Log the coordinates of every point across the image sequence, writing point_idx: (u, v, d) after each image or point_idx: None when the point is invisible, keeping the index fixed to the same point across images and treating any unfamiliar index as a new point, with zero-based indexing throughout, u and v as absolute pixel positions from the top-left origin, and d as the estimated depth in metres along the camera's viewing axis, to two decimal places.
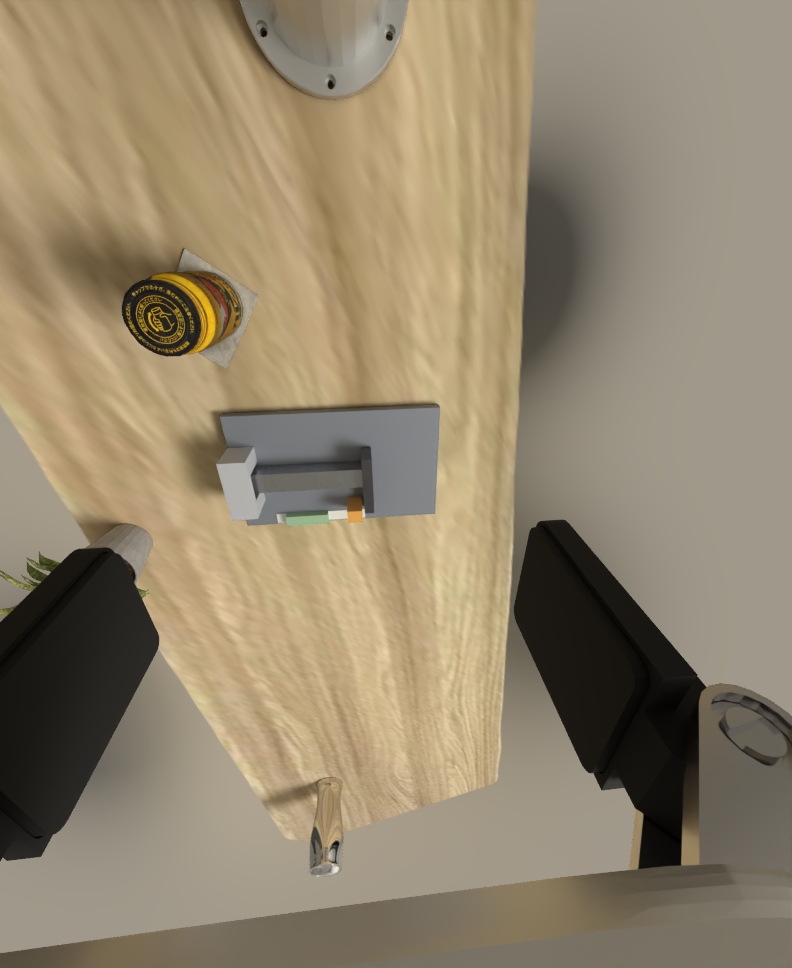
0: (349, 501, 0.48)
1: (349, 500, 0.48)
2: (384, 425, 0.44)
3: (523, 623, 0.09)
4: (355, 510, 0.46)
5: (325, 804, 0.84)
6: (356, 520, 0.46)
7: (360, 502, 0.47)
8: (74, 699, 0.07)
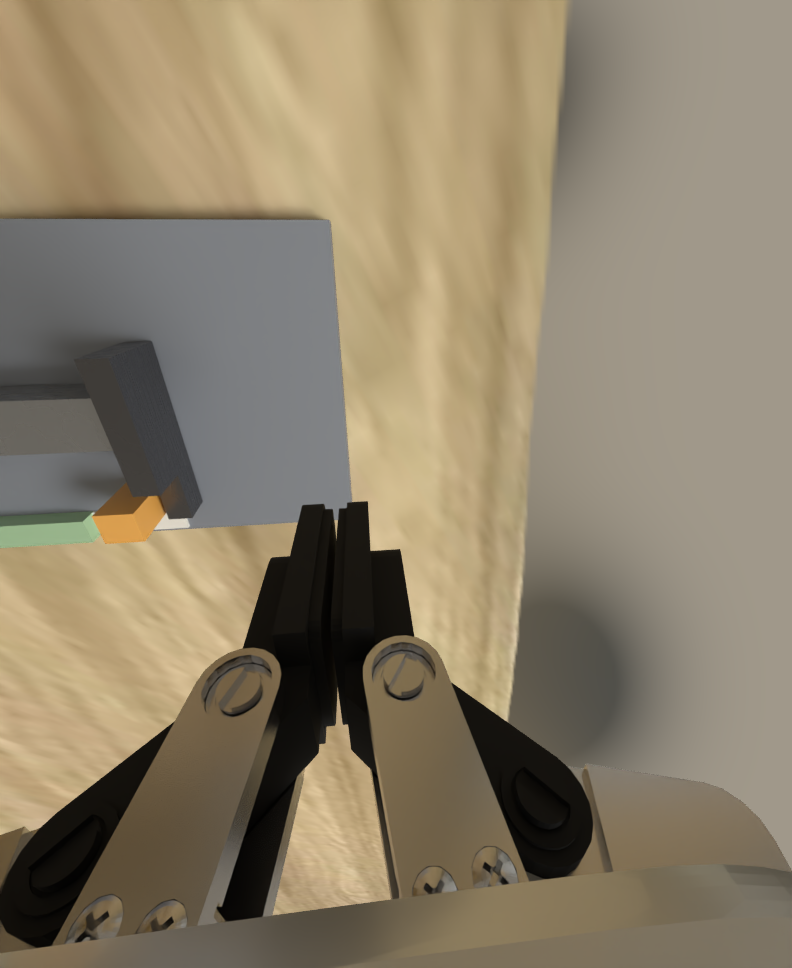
0: (124, 489, 0.19)
1: (124, 488, 0.19)
2: (176, 274, 0.16)
3: None
4: (117, 512, 0.17)
5: None
6: (127, 539, 0.18)
7: None
8: None
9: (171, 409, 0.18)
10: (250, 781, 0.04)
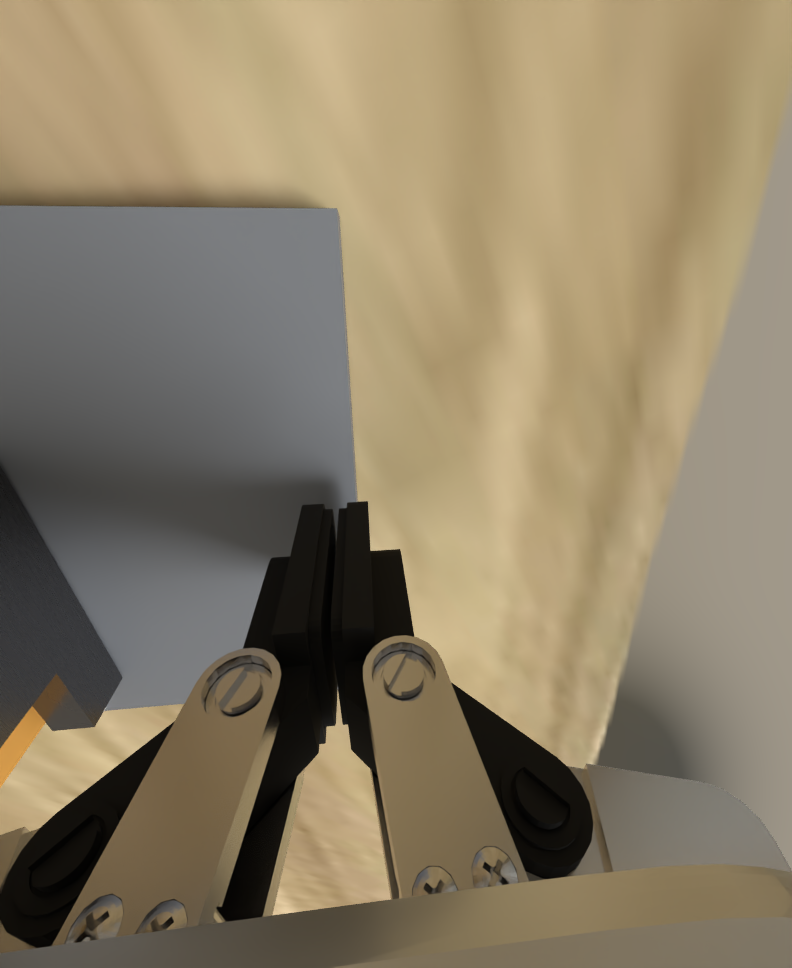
0: None
1: None
2: (18, 321, 0.08)
3: None
4: None
5: None
6: None
7: None
8: None
9: (44, 556, 0.10)
10: (250, 781, 0.04)
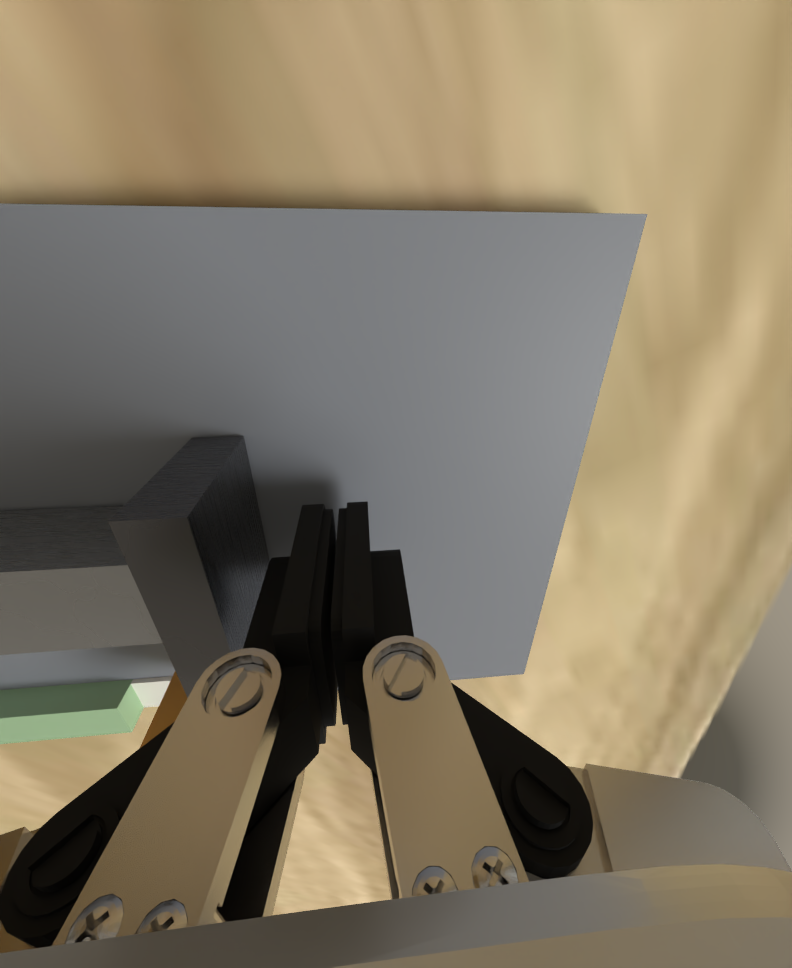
0: None
1: None
2: (331, 318, 0.08)
3: None
4: None
5: None
6: None
7: None
8: None
9: (263, 543, 0.10)
10: (250, 781, 0.04)
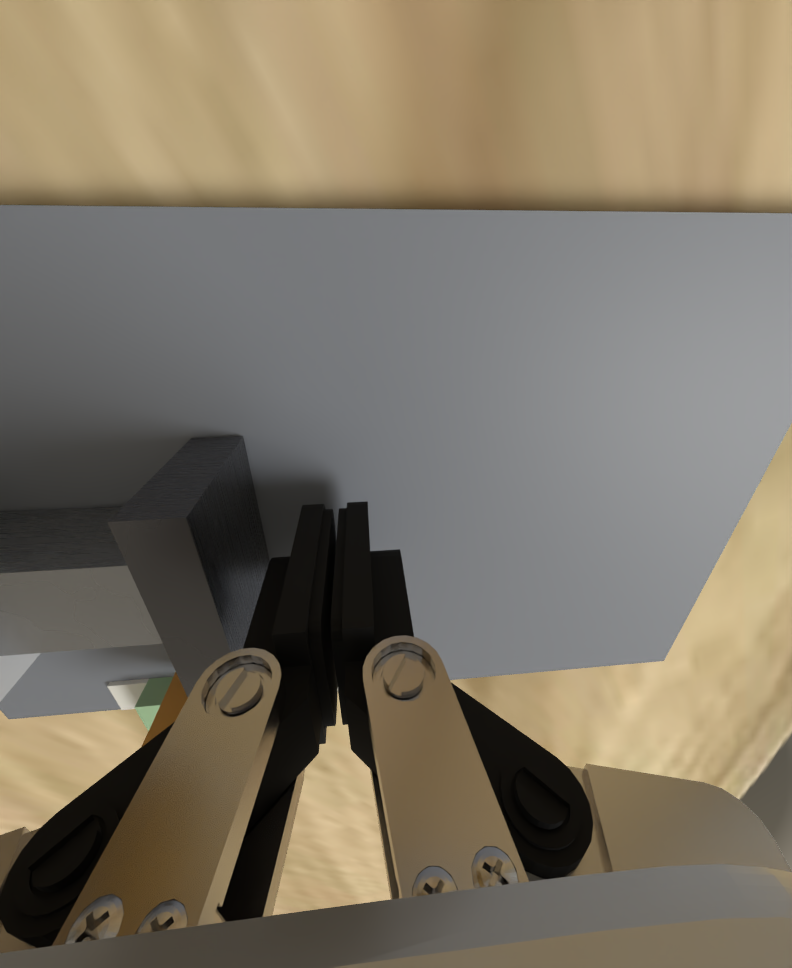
0: None
1: None
2: (591, 314, 0.09)
3: None
4: None
5: None
6: None
7: None
8: None
9: (263, 543, 0.10)
10: (250, 781, 0.04)
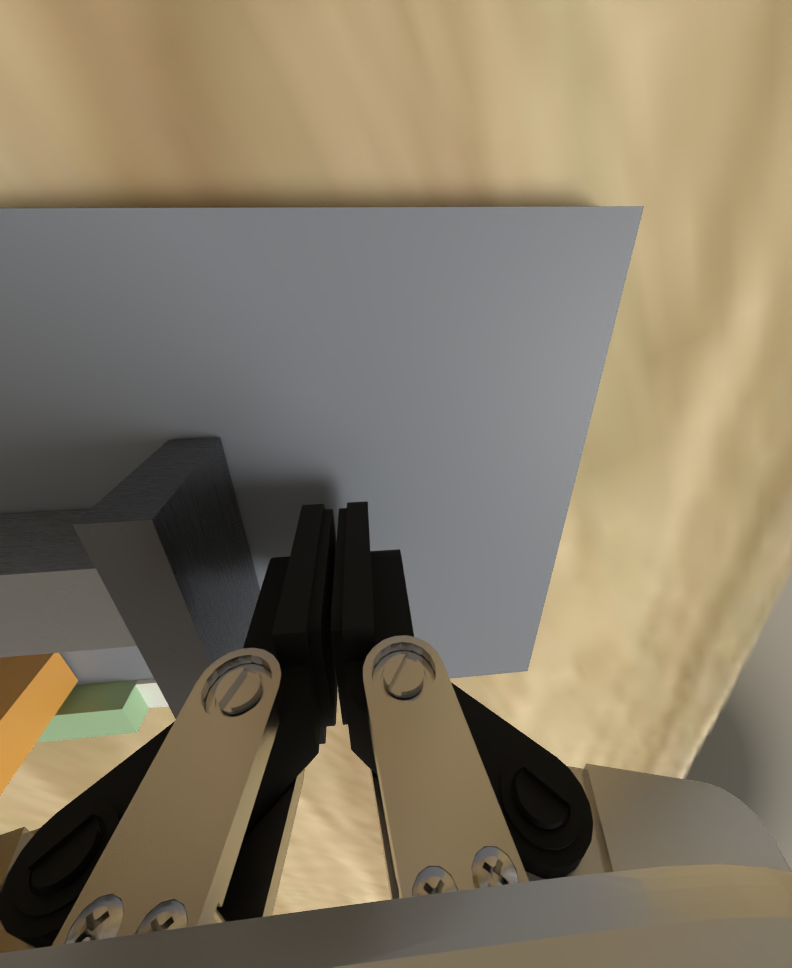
0: None
1: None
2: (327, 316, 0.08)
3: None
4: None
5: None
6: None
7: (12, 698, 0.11)
8: None
9: (245, 544, 0.10)
10: (250, 781, 0.04)
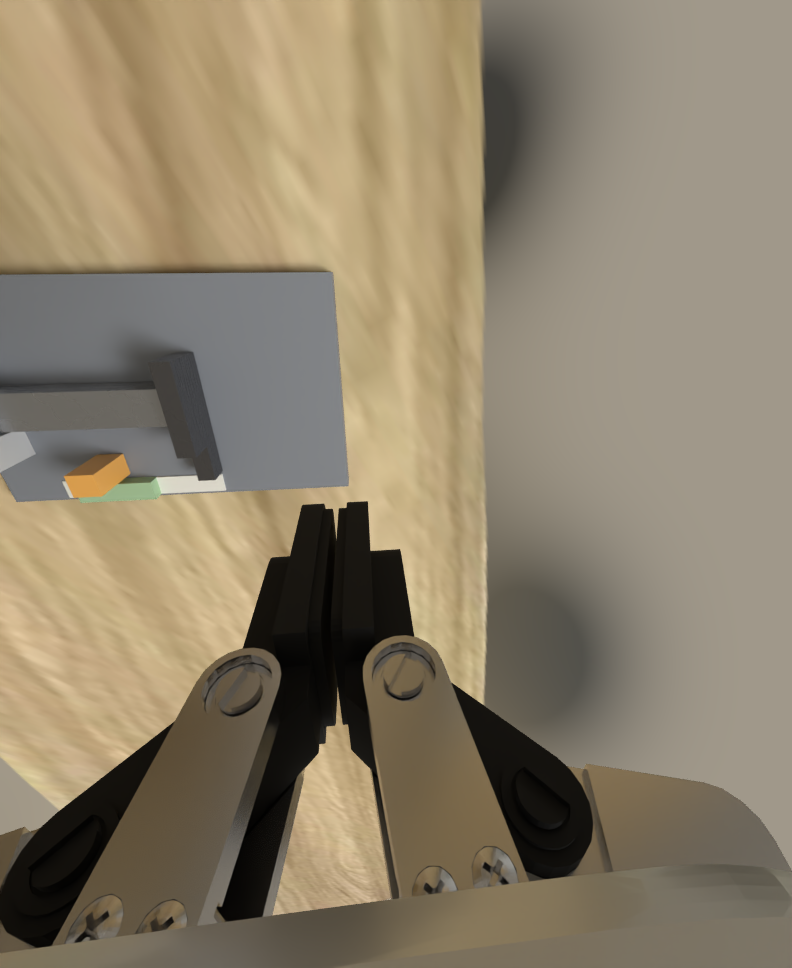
0: (90, 461, 0.26)
1: (91, 460, 0.26)
2: (229, 307, 0.24)
3: None
4: (82, 474, 0.24)
5: None
6: (89, 494, 0.25)
7: (108, 462, 0.26)
8: None
9: (204, 400, 0.26)
10: (250, 781, 0.04)
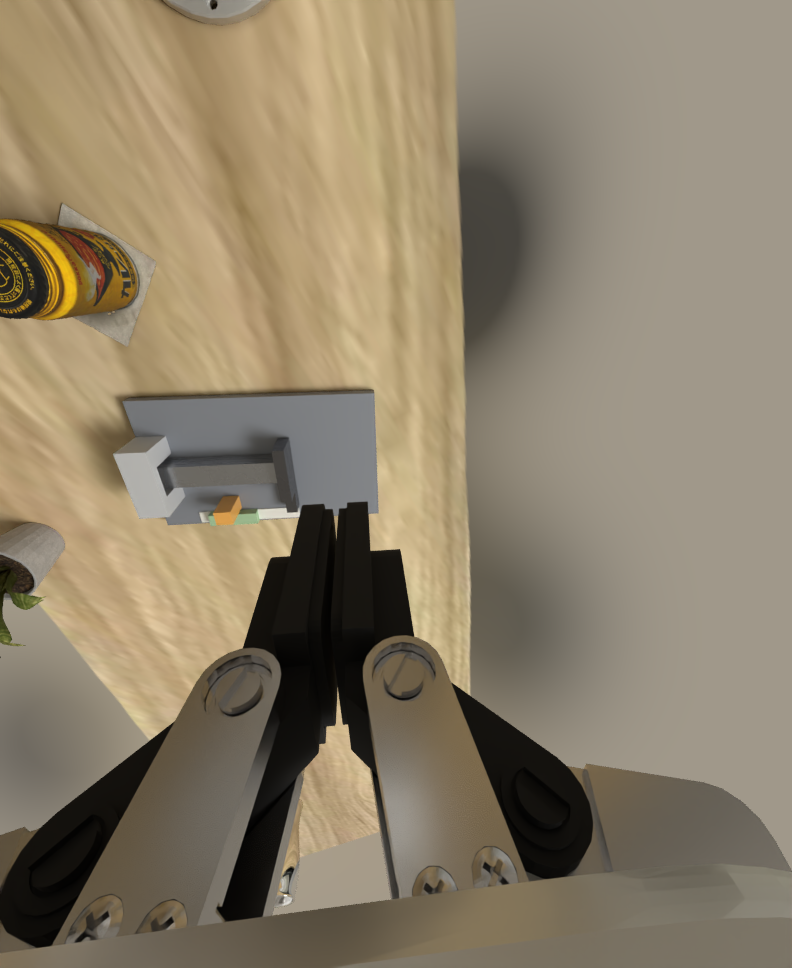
0: (222, 501, 0.42)
1: (221, 500, 0.42)
2: (312, 413, 0.40)
3: None
4: (223, 511, 0.41)
5: None
6: (226, 523, 0.41)
7: (233, 502, 0.42)
8: None
9: (292, 464, 0.42)
10: (250, 781, 0.04)
